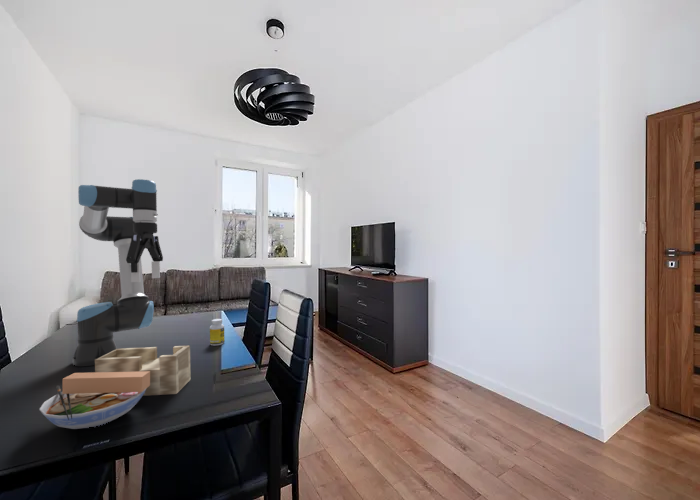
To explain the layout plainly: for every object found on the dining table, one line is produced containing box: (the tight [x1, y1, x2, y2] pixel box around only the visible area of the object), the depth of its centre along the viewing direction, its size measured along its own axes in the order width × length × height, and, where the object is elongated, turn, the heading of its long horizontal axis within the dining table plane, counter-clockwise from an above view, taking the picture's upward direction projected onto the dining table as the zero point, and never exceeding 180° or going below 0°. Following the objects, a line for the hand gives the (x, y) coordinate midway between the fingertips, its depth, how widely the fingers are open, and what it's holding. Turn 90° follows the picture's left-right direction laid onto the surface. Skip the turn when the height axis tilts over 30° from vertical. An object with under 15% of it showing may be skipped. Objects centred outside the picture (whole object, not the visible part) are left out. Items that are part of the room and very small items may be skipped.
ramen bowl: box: [38, 385, 147, 430], centre depth 86 cm, size 25×23×8 cm
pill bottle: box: [209, 318, 226, 346], centre depth 154 cm, size 6×6×12 cm
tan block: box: [61, 371, 150, 394], centre depth 87 cm, size 20×4×4 cm, turn 95°
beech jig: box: [94, 345, 192, 397], centre depth 105 cm, size 24×11×12 cm, turn 95°
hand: (146, 280), depth 118 cm, fingers open, 13 cm apart
